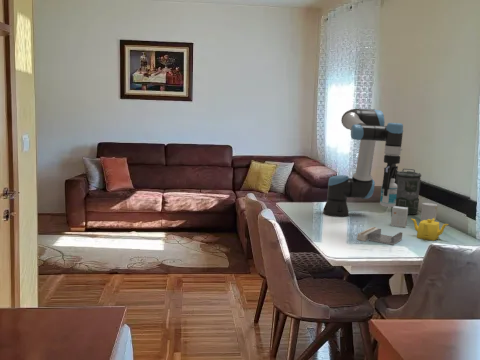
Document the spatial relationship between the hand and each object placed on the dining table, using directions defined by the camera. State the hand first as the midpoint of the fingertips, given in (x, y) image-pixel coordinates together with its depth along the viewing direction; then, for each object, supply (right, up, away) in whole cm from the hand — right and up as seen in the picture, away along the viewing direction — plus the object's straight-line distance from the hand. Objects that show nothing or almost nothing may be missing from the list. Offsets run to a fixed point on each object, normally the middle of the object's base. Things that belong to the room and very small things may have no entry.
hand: (388, 201), depth 264 cm
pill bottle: (0, -2, 0) cm, 2 cm away
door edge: (-8, -18, +7) cm, 21 cm away
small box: (+16, -15, +38) cm, 44 cm away
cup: (+35, -15, +45) cm, 59 cm away
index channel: (-1, -19, +3) cm, 19 cm away
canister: (+32, -10, +79) cm, 86 cm away
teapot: (+24, -19, +13) cm, 33 cm away
